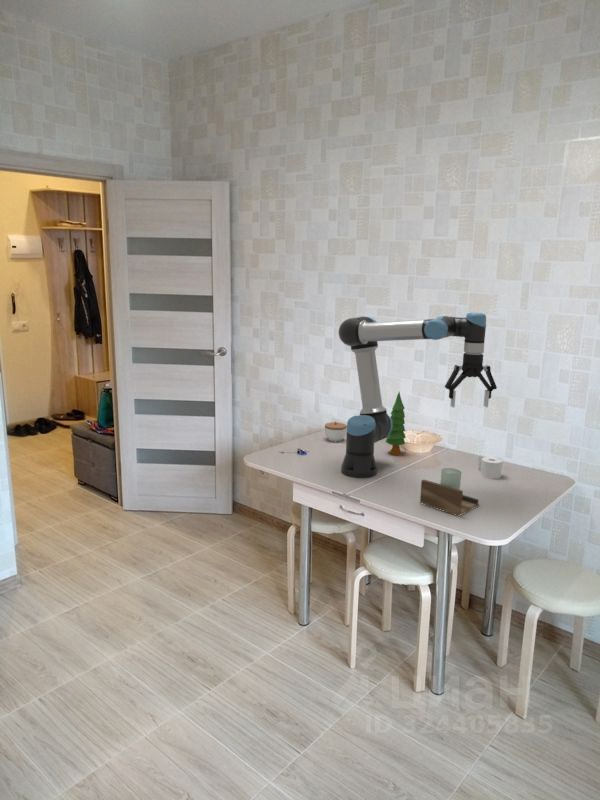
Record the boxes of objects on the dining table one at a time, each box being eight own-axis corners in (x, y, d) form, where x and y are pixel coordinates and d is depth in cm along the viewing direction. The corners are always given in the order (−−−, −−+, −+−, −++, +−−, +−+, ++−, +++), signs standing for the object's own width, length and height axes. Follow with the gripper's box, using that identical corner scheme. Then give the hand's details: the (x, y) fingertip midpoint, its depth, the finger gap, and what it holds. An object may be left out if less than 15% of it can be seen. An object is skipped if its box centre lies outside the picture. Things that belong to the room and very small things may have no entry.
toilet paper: (478, 469, 266) (480, 454, 264) (503, 475, 259) (505, 459, 257) (470, 474, 260) (471, 458, 258) (495, 480, 252) (497, 464, 251)
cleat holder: (440, 494, 236) (442, 471, 234) (478, 505, 225) (480, 482, 223) (420, 503, 226) (421, 480, 224) (458, 516, 215) (460, 491, 213)
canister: (441, 506, 221) (444, 474, 218) (436, 498, 228) (439, 468, 225) (460, 506, 222) (463, 474, 219) (455, 498, 228) (457, 468, 226)
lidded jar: (346, 443, 301) (347, 424, 299) (325, 442, 301) (325, 424, 299) (344, 437, 312) (345, 419, 310) (323, 436, 311) (324, 419, 309)
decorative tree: (392, 457, 281) (396, 392, 274) (380, 451, 288) (383, 389, 282) (409, 454, 285) (413, 391, 279) (396, 448, 293) (399, 387, 287)
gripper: (500, 352, 242) (495, 404, 247) (439, 351, 240) (435, 404, 244) (508, 354, 235) (503, 408, 240) (445, 354, 233) (441, 408, 237)
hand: (469, 406), depth 242 cm, fingers open, 13 cm apart
